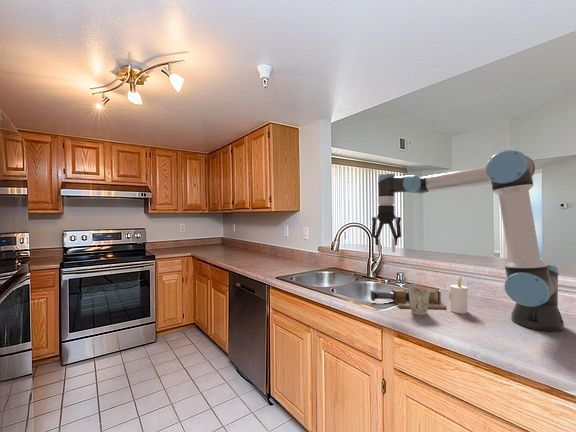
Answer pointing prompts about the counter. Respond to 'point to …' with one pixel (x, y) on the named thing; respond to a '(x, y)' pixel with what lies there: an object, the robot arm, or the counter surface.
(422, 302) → the mug
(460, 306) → the candle
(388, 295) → the pin
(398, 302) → the brown board
